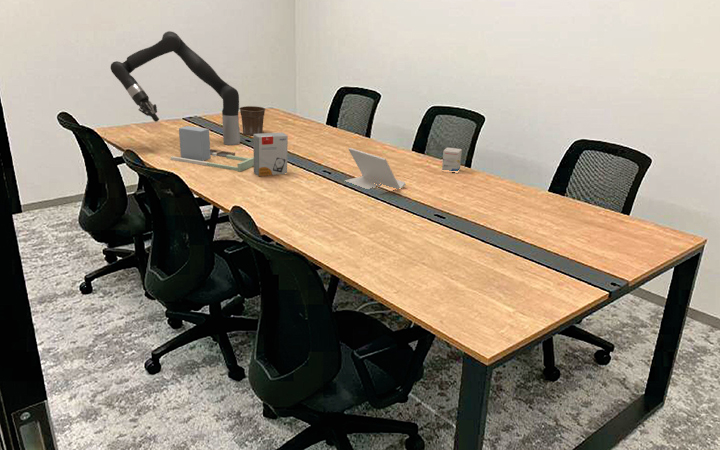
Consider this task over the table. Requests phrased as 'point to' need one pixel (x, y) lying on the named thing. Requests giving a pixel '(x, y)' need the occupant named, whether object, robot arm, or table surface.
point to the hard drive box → (270, 153)
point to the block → (194, 143)
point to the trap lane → (231, 155)
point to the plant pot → (252, 119)
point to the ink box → (451, 159)
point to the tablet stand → (373, 171)
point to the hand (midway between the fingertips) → (157, 120)
